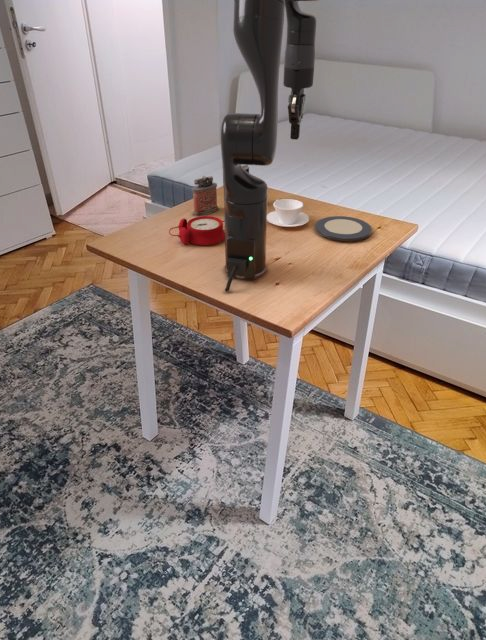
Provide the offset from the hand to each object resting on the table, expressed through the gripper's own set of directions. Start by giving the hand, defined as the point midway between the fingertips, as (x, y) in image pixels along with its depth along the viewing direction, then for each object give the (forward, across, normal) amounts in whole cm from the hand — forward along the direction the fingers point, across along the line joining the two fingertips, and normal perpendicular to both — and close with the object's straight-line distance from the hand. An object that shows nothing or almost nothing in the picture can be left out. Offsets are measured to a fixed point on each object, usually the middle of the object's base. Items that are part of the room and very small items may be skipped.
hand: (294, 138), depth 131 cm
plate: (+20, +12, +16) cm, 28 cm away
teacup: (+20, +10, +1) cm, 22 cm away
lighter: (+20, +8, -24) cm, 32 cm away
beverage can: (+20, 0, -16) cm, 25 cm away
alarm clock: (+20, +26, -19) cm, 38 cm away
